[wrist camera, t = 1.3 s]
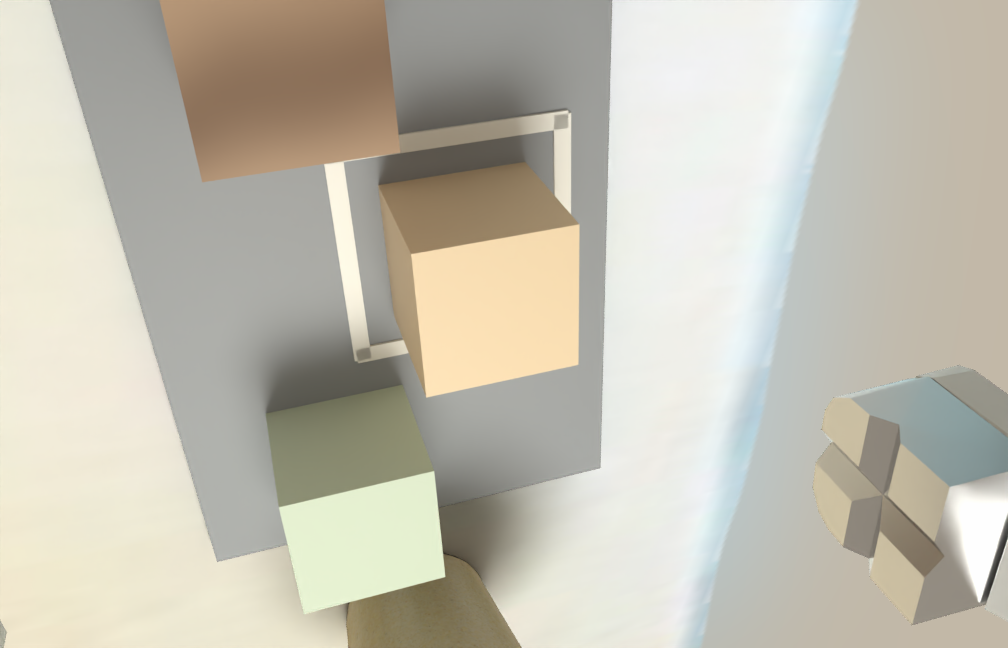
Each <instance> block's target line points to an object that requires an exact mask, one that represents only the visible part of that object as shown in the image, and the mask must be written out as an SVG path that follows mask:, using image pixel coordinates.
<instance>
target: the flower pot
mask: <svg viewBox="0 0 1008 648" xmlns="http://www.w3.org/2000/svg"><path fill="white" fill-rule="evenodd" d="M443 559H444V568H445V577H443V578H440V579H436V580H432V581H428V582H424V583H421V584H417V585H413V586H409V587H405V588H402V589H398V590H394V591H390V592H386V593H383V594H379V595H375V596H371V597H367V598H364V599H360V600H356V601H352V602H350V604H349V608H348V614H347V622H346V627H347V635H348V648H521V646H520V644H519V643H518V641H517V639H516V638H515V636H514V634H513V633H512V631H511V629H510V628H509V626H508V624H507V623H506V621H505V619H504V618H503V616H502V614H501V613H500V611H499V609H498V608H497V606H496V604H495V603H494V601H493V599H492V597H491V596H490V594H489V592H488V591H487V589H486V587H485V586H484V584H483V582H482V580H481V578H480V576H479V575H478V573H477V572H476V571H475V570H474V569H473V568H472V567H471V566H470V565H469V564H468V563H466V562H465V561H463V560H461V559H459V558H456V557H453V556H450V555H445V554H443Z"/></svg>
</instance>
